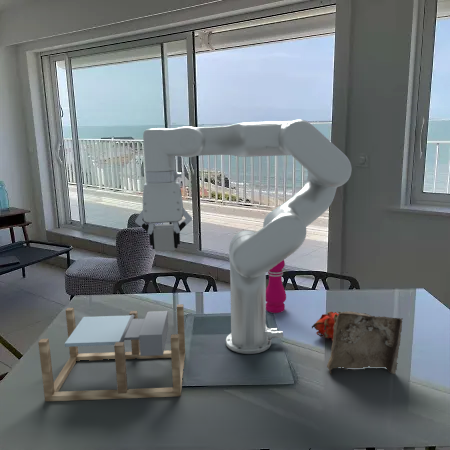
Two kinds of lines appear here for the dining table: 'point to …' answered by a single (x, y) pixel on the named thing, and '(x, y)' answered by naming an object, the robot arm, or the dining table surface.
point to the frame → (119, 355)
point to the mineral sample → (365, 341)
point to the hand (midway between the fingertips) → (165, 246)
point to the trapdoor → (123, 331)
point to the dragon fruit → (326, 325)
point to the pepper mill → (275, 290)
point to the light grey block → (164, 237)
